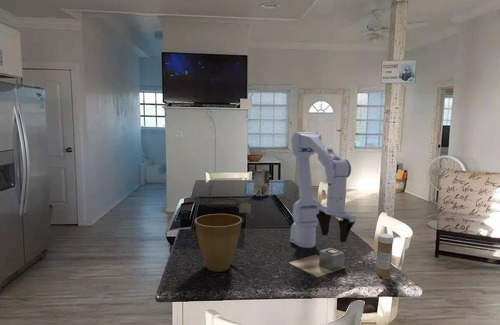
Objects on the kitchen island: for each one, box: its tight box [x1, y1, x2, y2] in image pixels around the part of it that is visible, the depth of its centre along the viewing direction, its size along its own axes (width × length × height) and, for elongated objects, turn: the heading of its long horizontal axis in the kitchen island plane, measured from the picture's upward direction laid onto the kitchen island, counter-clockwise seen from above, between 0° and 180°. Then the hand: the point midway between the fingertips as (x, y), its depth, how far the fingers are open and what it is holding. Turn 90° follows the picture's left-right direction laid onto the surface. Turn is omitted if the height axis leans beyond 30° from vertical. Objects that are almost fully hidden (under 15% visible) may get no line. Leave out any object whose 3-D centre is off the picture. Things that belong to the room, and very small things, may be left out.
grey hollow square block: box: [318, 247, 345, 272], centre depth 114 cm, size 6×6×5 cm
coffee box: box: [253, 169, 270, 198], centre depth 225 cm, size 9×6×16 cm
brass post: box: [327, 250, 338, 254], centre depth 114 cm, size 2×2×6 cm
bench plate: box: [288, 254, 346, 278], centre depth 115 cm, size 13×13×1 cm
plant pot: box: [194, 213, 243, 273], centre depth 113 cm, size 15×15×16 cm
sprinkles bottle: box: [375, 233, 394, 280], centre depth 109 cm, size 5×5×13 cm
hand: (333, 238), depth 114 cm, fingers open, 7 cm apart
